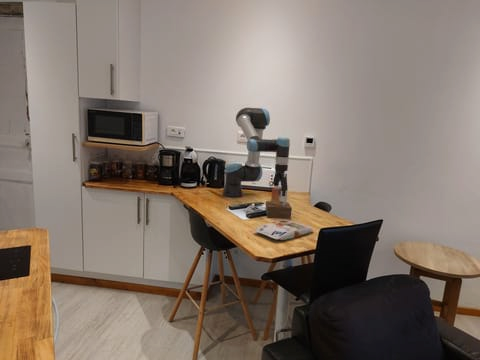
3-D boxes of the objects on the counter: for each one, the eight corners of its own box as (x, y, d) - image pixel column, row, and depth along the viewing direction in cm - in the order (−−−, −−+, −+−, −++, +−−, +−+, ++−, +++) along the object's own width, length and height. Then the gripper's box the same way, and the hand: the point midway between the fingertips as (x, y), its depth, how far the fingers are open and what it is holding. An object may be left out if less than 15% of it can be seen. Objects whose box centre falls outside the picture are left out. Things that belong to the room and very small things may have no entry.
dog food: (288, 224, 203) (289, 216, 202) (315, 233, 190) (316, 224, 189) (250, 234, 182) (251, 224, 182) (278, 244, 169) (278, 235, 169)
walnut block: (265, 212, 227) (266, 201, 225) (287, 213, 227) (288, 202, 226) (267, 218, 213) (268, 206, 212) (290, 219, 213) (291, 208, 212)
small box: (270, 204, 218) (271, 187, 216) (274, 202, 223) (275, 185, 221) (283, 206, 214) (284, 189, 212) (286, 204, 219) (287, 187, 217)
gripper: (269, 160, 225) (267, 193, 229) (282, 166, 201) (279, 203, 205) (280, 161, 227) (278, 194, 231) (295, 167, 203) (292, 203, 207)
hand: (279, 198), depth 218 cm, fingers open, 13 cm apart
